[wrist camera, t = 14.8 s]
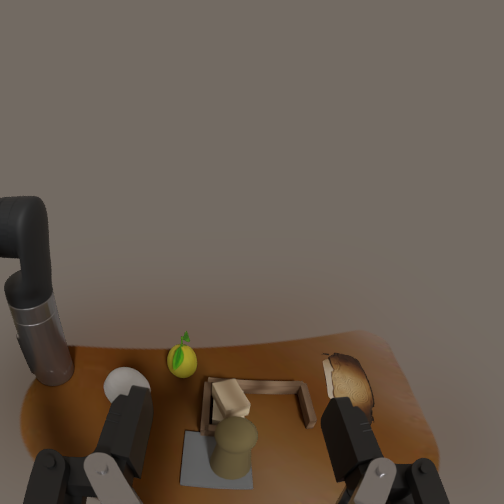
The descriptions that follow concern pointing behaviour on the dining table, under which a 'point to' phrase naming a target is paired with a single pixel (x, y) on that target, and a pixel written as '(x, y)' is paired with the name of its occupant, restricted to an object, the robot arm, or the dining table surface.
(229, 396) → the offcut upper
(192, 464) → the pad
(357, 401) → the parchment
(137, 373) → the lollipop
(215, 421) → the offcut lower
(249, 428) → the cork
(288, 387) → the frame
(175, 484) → the dining table surface
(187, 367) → the lemon
